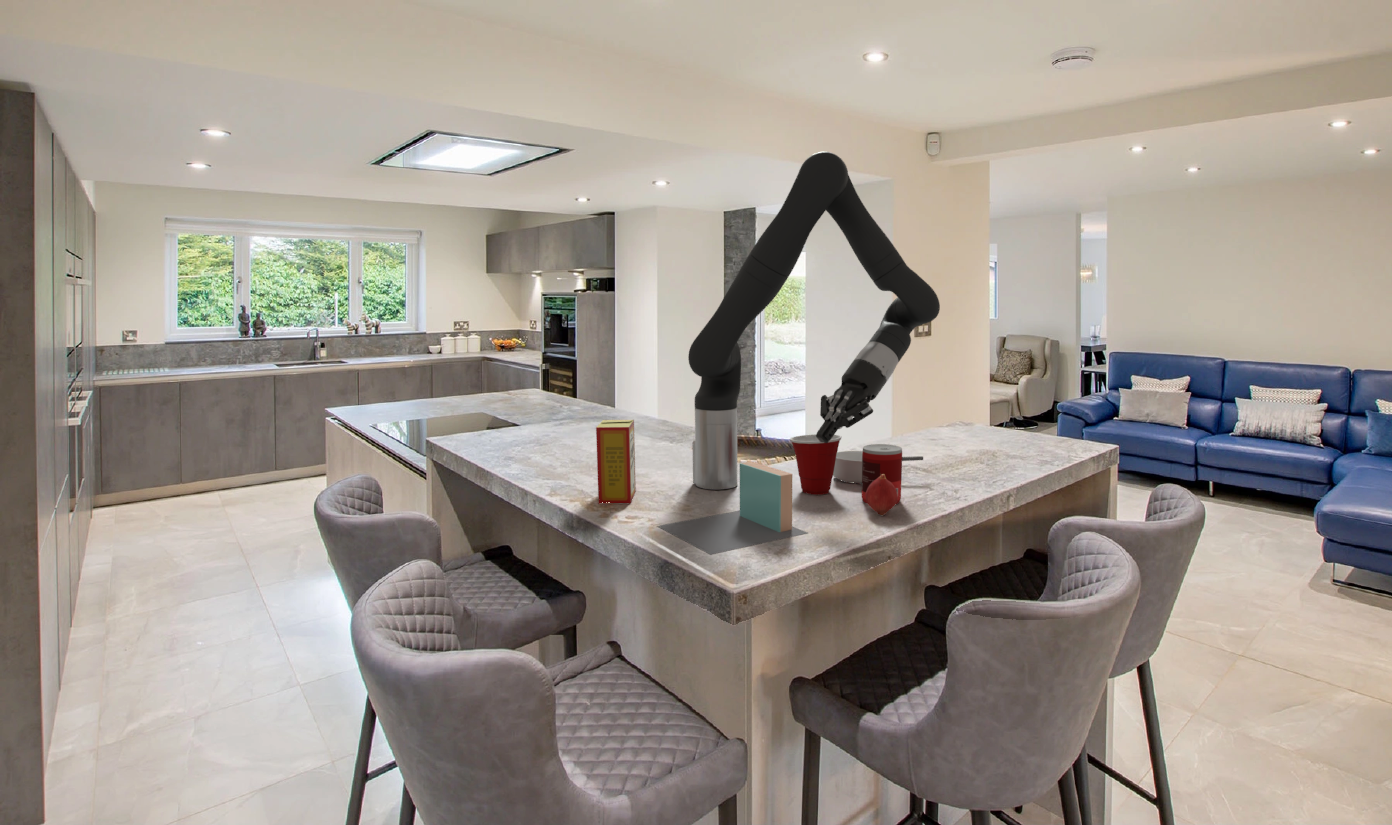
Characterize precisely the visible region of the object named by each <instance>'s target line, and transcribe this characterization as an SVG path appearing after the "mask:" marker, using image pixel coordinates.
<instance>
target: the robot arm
mask: <svg viewBox="0 0 1392 825" xmlns="http://www.w3.org/2000/svg"><path fill="white" fill-rule="evenodd" d="M787 194H788V195H787V196H786V198H785V200H784V203H783V204H782V206H781V207H780V210H779V211H778V212H777V214H776V215H775V217H774V218H773V219H772V220H771V222H770V224H769V225H768V226H767V227H766V229H765V230H764V231H763V232H762V235H760V237H759V238H758V240H757V242H756V243H755V245H754V246H753V247H752V249H751V250H750V252H749V254H748V256H747V257H746V258H745V260H744V262H743V264H742V265H741V267H740V268H739V271H738V273H737V274H736V276H735V278H734V279H733V281H732V283H731V284H730V286H729V288H728V290H727V292H726V293H725V295H724V297H723V299H722V300H721V303H720V304H719V306H718V307H717V309H716V311H715V312H714V314H712V317H711V318H710V319H709V320H708V322H707V323H706V324H705V326H703V328H702V329H701V331H699V334H698V335H697V336H696V337H695V339H694V340H693V342H692V343H691V345H690V347H689V351H688V355H687V356H688V365H689V367H690V370H691V371H692V372H693V373H694V374H695V375H697V376H699V377H700V379H701V380H700V382H701V383H700V386H699V388H698V391H697V392H696V394H695V396H694V440H693V441H692V446H691V447H692V483H693V484H695V486H696V487H698V488H700V489H704V490H715V491H717V490H727V489H733V488H735V487H737V486H738V399H739V396H740V393H741V392H740V391H741V378H742V377H741V375H742V373H741V372H742V356H741V354H742V352H741V348H740V346H739V343H738V342H739V340H740V338H741V336H742V335H743V333H744V332H745V331H746V328H748V326H749V325H750V324H751V323H752V322H753V321H754V320H755V319H756V318H757V317H758V316H759V315H760V314H761V313H762V312H763V311H764V310H765V309H766V308H767V307H768V306H769V304H771V302H772V301H773V300H774V299H775V298H776V297H777V295H778V294H779V292H780V290H781V289H782V288H783V286H784V285H785V283H786V282H787V280H788V279H789V276H790V275H791V273H792V272H793V270H794V268H795V266H796V265H797V262H798V261H799V258H800V256H801V254H802V252H803V250H804V247H805V245H806V242H807V240H808V238H809V236H810V233H811V232H812V231H813V229H814V227H815V226H816V224H817V223H818V221H819V220H820V219H821V217H822V216H823V214H824V213H826V212H827V213H828V215H830V217H831V218H832V219H833V221H834V222H835V223H836V225H837V226H838V227H839V229H840V230H841V232H842V234H843V235H844V237H845V239H846V240H847V242H848V244H849V246H850V248H851V249H852V251H853V253H854V254H855V257H856V258H857V260H858V261H859V263H860V264H861V266H862V267H863V269H864V271H865V272H866V273H867V275H868V277H869V278H870V279H871V280H872V282H873V283H874V285H875V286H876V287H877V288H878V289H879V290H880V291H883V292H891V293H892V294H894V295H895V296H896V298H895V299H894V300H893V301H892V302H891V303H890V304H889V306H888V307H887V309H886V310H885V313H884V315H883V317H882V319H881V322H880V324H879V328H878V329H877V330H876V332H874V334H873V335H872V337H871V338H870V339H869V340H868V342H867V343H866V345H865V346H864V347H863V348H862V349H861V350H860V351H859V352H858V353H857V354H856V356H855V358H854V360H853V361H852V362H851V363H850V364H849V366H848V367H847V369H846V370H845V372H844V373H843V374H842V375H841V376H842V377H841V385H840V386H838V388H837V389H835V390H834V393H833V394H832V395H830V396H827V395H826V394H823V395H821V397H820V411H819V412H820V414H819V415H820V417H821V418H822V419H823V420H824V421H823V423H822V424H821V426H820V427H819V428H818V430H817V432H816V437H817V438H818V440H819V441H820V442H823V443H828V442H829V440H831V438H832V437H833V436H834V435H836V433H837V431H838V430H841V429H842V428H843V427H845V428H846V429H848V428H851V427H852V426H853V425H855V424H857V423H858V422H860V421H862V420H863V419H866V417H868V416H870V415H872V414H873V412H874V409H873V408H872V406H871V405H870V402H871V401H874V399H875V400H876V398H877V397H878V395H879V393H880V392H881V390H882V389H883V388H884V386H885V385H886V384H887V382H888V381H889V379H890V377H892V375H893V373H894V371H895V369H896V368H897V366H898V364H899V362H900V361H901V360H902V358H903V356H905V354H906V353H907V351H908V349H909V348H910V345H911V344H912V338H911V333H912V331H914V329H916V328H917V327H919V326H923V325H925V324H929V323H931V322H932V321H934V320H935V319H936V318H937V317H938V316H939V313H940V300H939V297H938V295H937V293H936V291H935V290H934V289H933V288H932V287H931V286H930V284H928V283H927V282H926V281H925V280H924V279H923V278H922V277H921V276H920V275H918V273H916V272H915V271H914V270H912V268H910V267H909V266H908V264H907V263H906V262H905V260H904V258H903V257H902V256H901V254H900V253H899V251H898V250H897V249H896V247H895V246H894V244H893V243H892V241H891V240H890V239H889V237H888V236H887V235H886V233H885V232H884V231H883V229H882V228H881V227H880V226H879V225H878V223H877V222H876V221H875V219H874V218H873V217H872V215H871V213H869V211H868V209H867V208H866V207H865V205H864V203H863V202H862V200H861V198H860V196H859V195H858V192H857V191H856V188H855V186H854V184H853V183H852V180H851V177H850V175H849V171H848V168H847V165H846V163H845V161H844V160H843V159H842V158H841V157H840V156H838V155H837V154H835V153H833V152H829V151H819V152H815V153H812V154H811V155H809V157H807V158H806V159H805V160H804V162H803V163H802V164H801V166H800V168H799V170H798V173H797V175H796V178H795V180H794V182H793V184H792V186H791V188H790V191H789V192H788V193H787Z"/></svg>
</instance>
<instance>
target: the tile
mask: <svg viewBox="0 0 1392 825" xmlns="http://www.w3.org/2000/svg"><path fill="white" fill-rule="evenodd" d="M739 510H740V516H742V517H744V518H746V519H749V520H751V521H753V522H756V523H758V524H761V525H763V526H765V527H768V528H770V529H773V530H775V531H777V532H783V531H788V530H792V526H793V473H790V472H787V471H785V470H781V469H777V468H774V467H772V466H768V465H764V464H762V463H758V462H754V461H747V462H739Z"/></svg>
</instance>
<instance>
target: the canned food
mask: <svg viewBox="0 0 1392 825" xmlns="http://www.w3.org/2000/svg"><path fill="white" fill-rule="evenodd" d="M862 451H863V452H862V484H861V499H862V501H863V503H865V504H867V505H868V503H867V501H866V497H865V495H866V491H867V488H868V487H869V485H870V484H871V483H872V482H873V481H874V480H876V479H877V478H878V477H880V476H881V474H885V477H886V479H887V480H888V481H890V482H891V483H892V484H893V485H894V487H895V489H896V491H897V494H898V499H897V503H896V505H898V504H900V502H901V499H902V472H903V461H902V457H903V448H902V447H901V446H898V445H895V444H890V443H888V444H885V443H874V444H872V443H871V444H867V445H864V446H862Z"/></svg>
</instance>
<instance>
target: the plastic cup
mask: <svg viewBox="0 0 1392 825" xmlns="http://www.w3.org/2000/svg"><path fill="white" fill-rule="evenodd" d="M816 434H817V433H816ZM816 434H803V435H798V436H793V437H790V438H789V441H790V443H791V444H792V447H793V450H794V453H795V459H796V465H797V471H798V476H799V481H800V488H801V491H802V493H804V494H807V495H814V496H819V495H820V496H823V495H827V494H829V493H830V490H831V486H832V480H833V477H834V476H833V473H834V467H835V461H836V455H837V452H839V451H838V449H839V446H840V445H839V444H840V441H841V440H842V435H839V434H834V436H833V437H832V438H831V440H829V442H828V443H823V442H820V441H819V440H818V438H817V437H816Z"/></svg>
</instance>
